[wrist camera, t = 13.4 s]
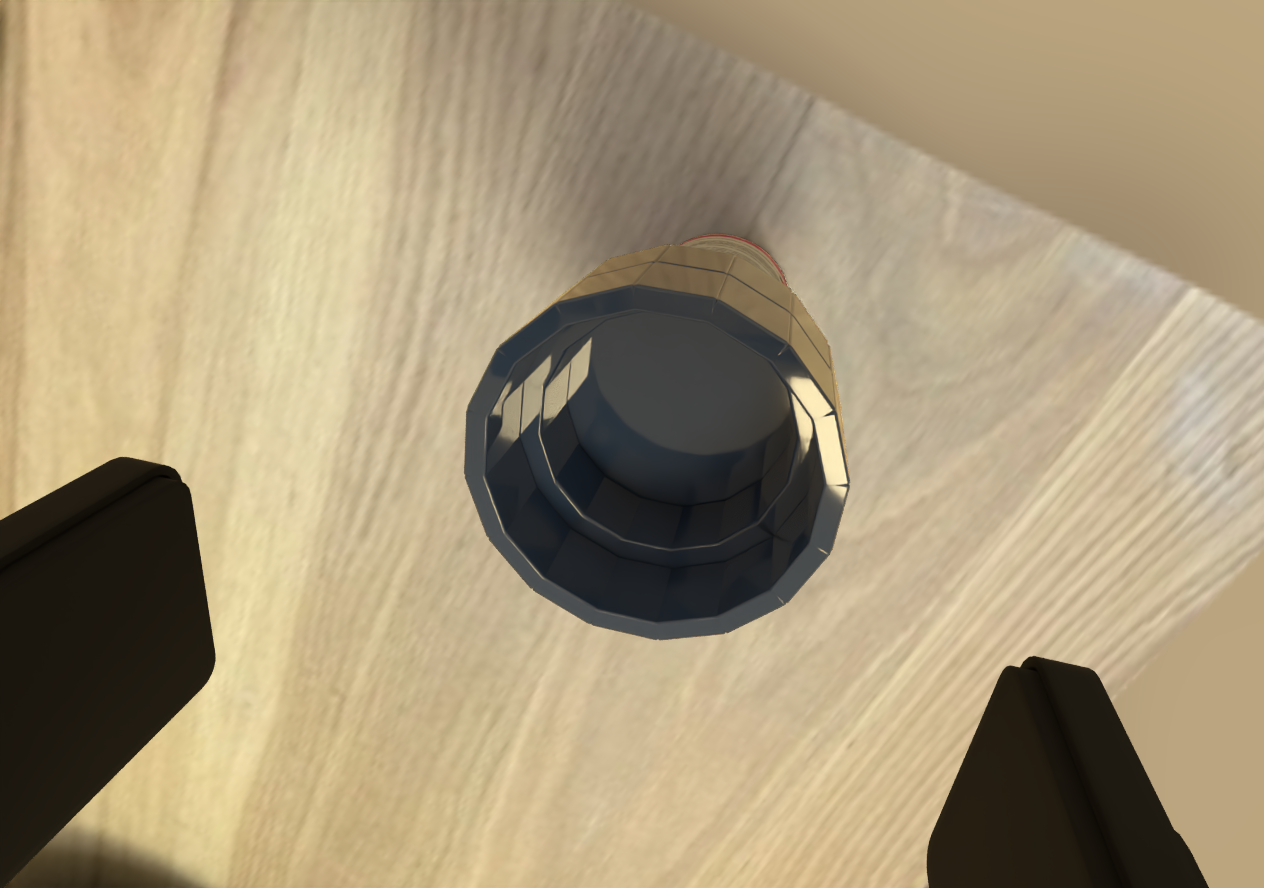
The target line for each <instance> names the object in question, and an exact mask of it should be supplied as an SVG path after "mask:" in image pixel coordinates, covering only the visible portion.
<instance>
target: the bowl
mask: <svg viewBox="0 0 1264 888" xmlns="http://www.w3.org/2000/svg"><path fill="white" fill-rule="evenodd" d="M464 474H465V479H466V482H467V485H468V487H469V490H470V493H471V495H472V498H473V501H474V503H475V506H476V509H477V511H478V514H479V517H480V519H481V522H482V525H483V527H484V530H485V533H486V535H487V537H489V541H490V542H491V543H492V544H493V545H494V546H495V548H496V549H497V550H498V551H499V552H500V553H501V555H502V556H503V557H504V558H505V559H506V560H507V562H508V563H509V564H510V565H511V566H512V567H513V568H514V570H515V571H516V572H517V573H518V574H519V575H520V577H521V578H522V579H523V580H524V581H525V582H526V584H527V585H528V586H529V587H530V588H531V589H532V588H533V591H535V592H536V593H538V594H540V595H541V596H543V597H545V598H546V599H548V600H550V601H551V602H553V603H555V604H556V605H558V606H560V607H561V608H563V609H565V610H566V611H568V612H570V613H571V614H573V615H575V616H576V617H578V618H580V619H581V620H583V621H585V622H586V623H588V624H592V625H593V626H597V627H601V628H606V629H610V630H614V631H619V632H623V633H627V634H632V635H636V636H640V637H644V638H649V639H653V640H657V639H658V640H669V639H679V638H689V637H700V636H710V635H720V634H725V633H729V632H731V631H733V630H735V629H737V628H739V627H741V626H743V625H745V624H747V623H749V622H751V621H753V620H755V619H757V618H760V617H762V616H764V615H766V614H768V613H770V612H772V611H774V610H776V609H778V608H780V607H782V606H784V605H785V604H786V603H788V602H789V601H790V600H791V599H792V598H793V596H794V595H795V594H796V593H797V592H798V591H799V590H800V588H801V587H802V586H803V585H804V584H805V583H806V581H807V580H808V579H809V578H810V577H811V576H812V575H813V573H814V572H815V571H816V570H817V569H818V568H819V566H820V565H821V564H822V563H823V562H824V561H825V559H826V558H827V557H828V556H829V555H830V553H831V551H832V550H833V546H834V543H835V539H836V535H837V532H838V528H839V525H840V521H841V517H842V514H843V510H844V506H845V503H846V499H847V496H848V492H849V488H850V485H849V484H850V477H849V469H848V461H847V453H846V445H845V437H844V429H843V420H842V412H841V404H840V398H839V392H838V387H837V381H836V376H835V370H834V365H833V359H832V354H831V348H830V346H829V345H828V342H827V339H826V338H825V336H824V335H823V333H822V332H821V331H820V329H819V328H818V326H817V325H816V323H815V322H814V320H813V319H812V317H811V316H810V315H809V313H808V312H807V310H806V309H805V307H804V306H803V304H802V303H801V301H800V300H799V299H798V297H797V296H796V294H794V293H793V292H792V290H791V289H790V288H789V287H787V286H786V285H784V284H783V283H781V282H779V281H778V280H776V279H775V278H773V277H771V276H770V275H768V274H767V273H765V272H763V271H762V270H760V269H759V268H757V267H756V266H754V265H752V264H751V263H749V262H748V261H746V260H744V259H743V258H741V257H740V256H737V255H736V256H735V255H733V254H730V253H724V252H717V251H711V250H705V249H699V248H693V247H687V246H681V245H675V244H674V245H670V244H666V245H662V246H658V247H654V248H650V249H646V250H642V251H638V252H634V253H630V254H626V255H622V256H618V257H614V258H610V259H609V260H606V261H605V262H603V263H602V264H601V265H599V266H598V267H597V268H596V269H594V270H593V271H592V272H590V273H589V274H588V275H586V276H585V277H584V278H583V279H581V280H580V281H579V282H577V283H576V284H575V285H574V286H572V287H571V288H570V289H568V290H567V291H566V292H565V293H563V294H562V295H561V296H559V297H558V298H557V299H556V300H555V301H553V302H552V303H551V304H550V305H548V306H547V307H546V308H545V309H543V310H542V311H541V312H540V313H539V314H537V315H536V316H535V317H534V318H532V319H531V320H530V321H529V322H528V323H526V324H525V325H524V326H523V327H521V328H520V329H519V330H518V331H516V332H515V333H514V334H513V335H511V336H510V337H509V338H508V339H507V340H505V341H504V342H503V343H502V344H500V346H499V347H498V348H497V349H496V351H495V353H494V355H493V357H492V359H491V361H490V363H489V365H488V367H487V369H486V370H485V372H484V374H483V376H482V378H481V380H480V382H479V384H478V386H477V388H476V390H475V392H474V394H473V396H472V398H471V400H470V402H469V404H468V407H467V411H466V435H465V463H464Z"/></svg>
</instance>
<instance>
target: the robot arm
mask: <svg viewBox="0 0 1264 888" xmlns="http://www.w3.org/2000/svg"><path fill="white" fill-rule="evenodd" d="M214 665H215V648H214V642H213V635H212V629H211V622H210V615H209V609H208V602H207V596H206V589H205V583H204V576H203V570H202V563H201V556H200V550H199V543H198V537H197V530H196V524H195V517H194V510H193V504H192V497H191V493H190V490H189V488H188V486H187V485H186V484H185V483H183V482H182V480H181V477H180V475H179V474H178V472H177V471H176V470H175V469H173V468H171V467H169V466H166V465H161V464H157V463H152V462H148V461H143V460H139V459H134V458H130V457H119V458H116V459H113V460H110V461H109V462H107V463H105V464H103V465H101V466H99V467H97V468H96V469H94V470H92V471H90V472H88V473H86V474H85V475H83V476H81V477H79V478H77V479H75V480H74V481H72V482H70V483H68V484H66V485H64V486H63V487H61V488H59V489H57V490H55V491H53V492H52V493H50V494H48V495H46V496H44V497H42V498H40V499H39V500H37V501H35V502H33V503H31V504H29V505H28V506H26V507H24V508H22V509H20V510H18V511H17V512H15V513H13V514H11V515H9V516H7V517H6V518H4V519H2V520H0V888H4V887H5V886H6V885H7V884H8V883H9V882H10V881H11V880H12V879H13V878H14V877H15V876H16V875H17V874H18V873H19V872H20V871H21V870H22V869H23V868H24V867H25V866H26V865H27V864H28V862H29V861H30V860H31V859H32V858H33V857H34V856H35V855H36V854H37V853H38V852H39V851H40V850H41V849H42V848H43V847H44V846H45V845H46V844H47V843H48V842H49V841H50V840H51V839H52V838H53V837H54V836H55V835H56V834H57V833H58V832H59V831H60V830H61V829H62V828H63V827H64V826H65V825H66V824H67V823H68V822H69V821H70V820H71V819H72V818H73V817H74V816H75V815H76V814H77V813H78V812H79V811H80V810H81V809H82V808H83V807H84V806H85V805H86V804H87V803H88V802H89V801H90V800H91V799H92V798H93V797H94V796H95V795H96V794H97V793H98V792H99V791H100V790H101V789H102V788H103V787H104V786H105V785H106V784H107V783H108V782H109V781H110V780H111V779H112V778H113V777H114V776H115V775H116V774H117V773H118V772H119V771H120V770H121V769H122V768H123V767H124V766H125V765H126V764H127V763H128V762H129V761H130V760H131V759H132V758H133V757H134V756H135V755H136V754H137V753H138V752H139V751H140V750H141V749H142V748H143V747H144V746H145V745H146V744H147V743H148V742H149V741H150V740H151V739H152V738H153V737H154V736H155V735H156V734H157V733H158V732H159V731H160V730H161V729H162V728H163V727H164V726H165V725H166V724H167V723H168V722H169V721H170V720H171V719H172V718H173V717H174V716H175V715H176V714H177V713H178V712H179V711H180V710H181V709H182V708H183V707H184V706H185V705H186V704H187V703H188V702H189V701H190V700H191V699H192V698H193V697H194V696H195V695H196V694H197V693H198V692H199V691H200V690H201V689H202V688H203V687H204V685H205V684H206V683H207V682H208V680H209V678H210V676H211V674H212V672H213V669H214ZM927 876H928V883H929V888H1209V887H1208V885H1207V883H1206V881H1205V879H1204V877H1203V875H1202V873H1201V871H1200V869H1199V867H1198V865H1197V863H1196V861H1195V859H1194V857H1193V855H1192V853H1191V851H1190V849H1189V848H1188V846H1187V845H1186V843H1185V842H1184V840H1183V839H1182V837H1181V836H1180V834H1178V833H1177V832H1176V831H1175V830H1174V829H1173V827H1172V825H1171V823H1170V821H1169V818H1168V816H1167V814H1166V812H1165V810H1164V808H1163V806H1162V804H1161V802H1160V800H1159V798H1158V796H1157V794H1156V792H1155V790H1154V788H1153V786H1152V784H1151V782H1150V780H1149V778H1148V776H1147V774H1146V772H1145V770H1144V768H1143V766H1142V764H1141V761H1140V759H1139V757H1138V755H1137V753H1136V751H1135V750H1134V747H1133V745H1132V743H1131V742H1130V739H1129V737H1128V735H1127V734H1126V731H1125V729H1124V727H1123V725H1122V723H1121V721H1120V719H1119V717H1118V715H1117V713H1116V711H1115V709H1114V707H1113V705H1112V702H1111V700H1110V698H1109V696H1108V694H1107V692H1106V690H1105V688H1104V686H1103V684H1102V682H1101V680H1100V678H1099V677H1098V675H1097V674H1096V673H1095V671H1093V670H1091V669H1089V668H1086V667H1081V666H1077V665H1072V664H1068V663H1063V662H1059V661H1054V660H1049V659H1045V658H1040V657H1036V656H1032V657H1028V658H1027V659H1026V660H1025V661H1024V662H1023V663H1022V665H1021V667H1015V666H1007V667H1006V668H1005V669H1004V670H1003V671H1002V673H1001V675H1000V677H999V679H998V681H997V684H996V686H995V688H994V691H993V693H992V695H991V698H990V700H989V702H988V705H987V707H986V709H985V712H984V714H983V716H982V719H981V721H980V723H979V726H978V728H977V730H976V733H975V735H974V737H973V739H972V742H971V744H970V746H969V749H968V751H967V753H966V756H965V758H964V760H963V763H962V765H961V767H960V770H959V772H958V774H957V777H956V779H955V781H954V784H953V786H952V788H951V791H950V793H949V795H948V797H947V800H946V802H945V804H944V807H943V809H942V811H941V814H940V816H939V818H938V821H937V823H936V825H935V828H934V830H933V832H932V835H931V838H930V841H929V845H928V851H927Z"/></svg>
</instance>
